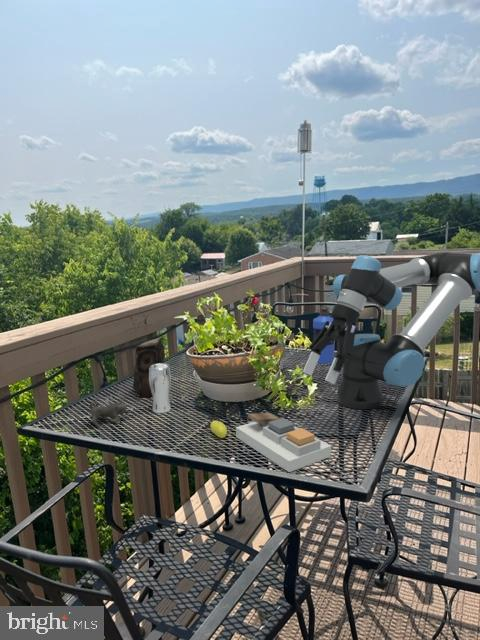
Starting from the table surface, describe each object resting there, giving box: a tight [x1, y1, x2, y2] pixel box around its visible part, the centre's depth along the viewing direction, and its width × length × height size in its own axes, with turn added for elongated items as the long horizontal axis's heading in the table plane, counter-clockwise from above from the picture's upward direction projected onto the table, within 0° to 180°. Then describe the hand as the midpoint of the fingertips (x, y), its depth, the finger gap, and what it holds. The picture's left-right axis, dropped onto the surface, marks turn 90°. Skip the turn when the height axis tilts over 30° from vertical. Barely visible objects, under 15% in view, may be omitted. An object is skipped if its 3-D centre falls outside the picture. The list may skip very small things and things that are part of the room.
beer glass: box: [149, 362, 172, 414], centre depth 156 cm, size 7×7×15 cm
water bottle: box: [312, 305, 335, 364], centre depth 203 cm, size 9×9×25 cm
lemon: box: [210, 420, 228, 439], centre depth 138 cm, size 4×8×4 cm, turn 21°
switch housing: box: [235, 421, 332, 473], centre depth 130 cm, size 14×24×5 cm, turn 33°
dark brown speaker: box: [132, 336, 166, 399], centre depth 170 cm, size 13×13×20 cm
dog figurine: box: [89, 401, 130, 429], centre depth 148 cm, size 12×6×7 cm, turn 112°
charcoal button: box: [268, 417, 295, 435], centre depth 129 cm, size 5×5×2 cm
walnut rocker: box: [247, 412, 281, 423], centre depth 136 cm, size 8×5×1 cm, turn 124°
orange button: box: [287, 427, 316, 446], centre depth 123 cm, size 5×5×2 cm
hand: (317, 378), depth 132 cm, fingers open, 13 cm apart
